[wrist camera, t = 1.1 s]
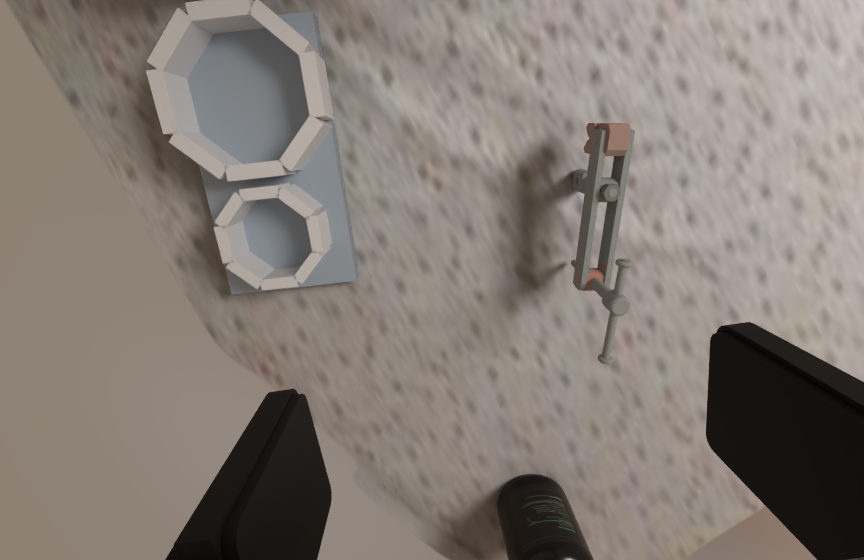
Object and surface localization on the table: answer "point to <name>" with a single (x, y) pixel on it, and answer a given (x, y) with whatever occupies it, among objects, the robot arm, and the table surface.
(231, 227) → the fitting plate
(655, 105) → the table surface
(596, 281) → the clamp
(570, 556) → the supplement bottle
